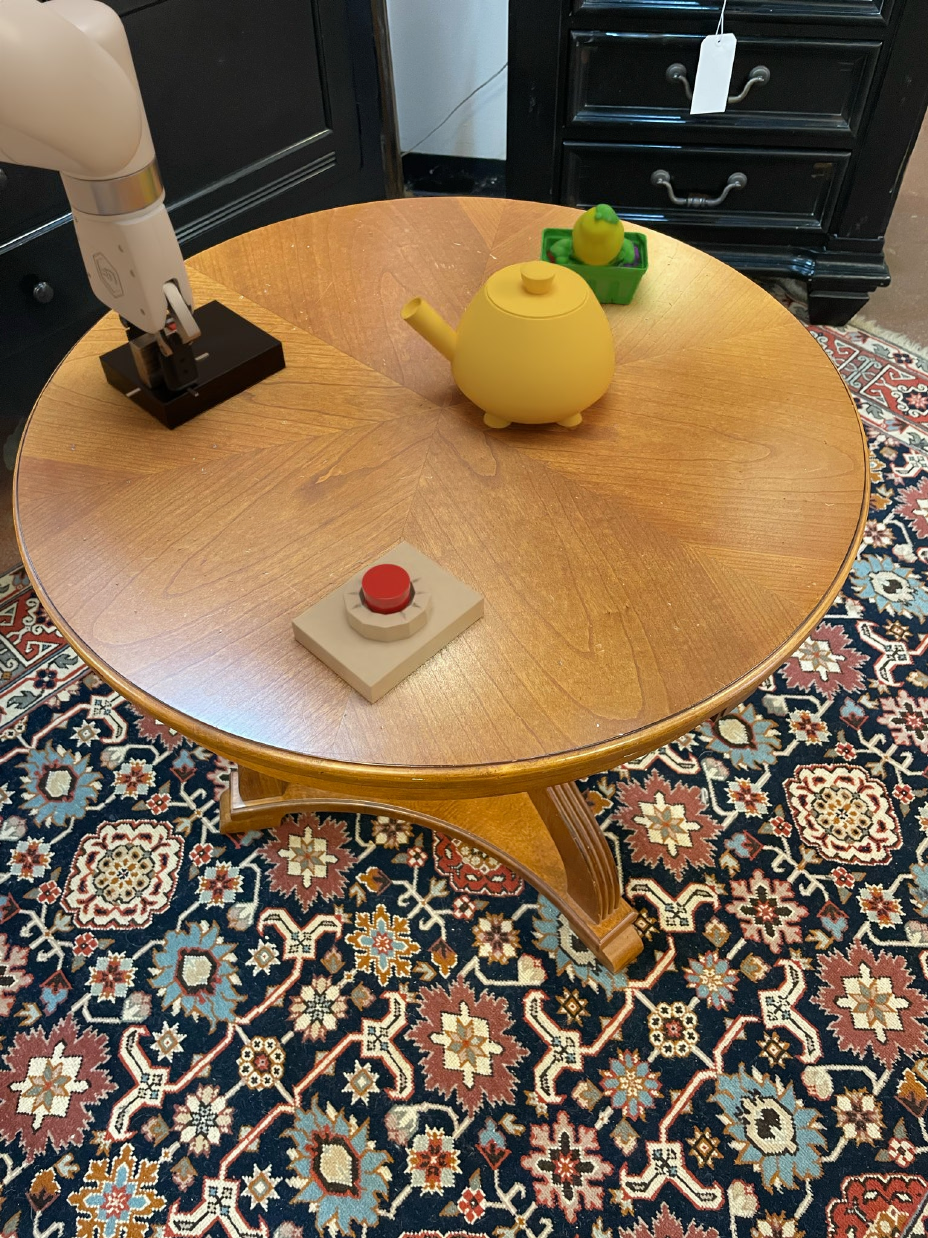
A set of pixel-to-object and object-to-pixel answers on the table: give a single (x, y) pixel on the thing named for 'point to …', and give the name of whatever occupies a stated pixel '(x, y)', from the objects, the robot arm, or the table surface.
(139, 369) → the hob knob
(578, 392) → the teapot
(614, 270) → the fruit basket
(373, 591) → the button
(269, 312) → the table surface
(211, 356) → the panel
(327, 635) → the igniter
